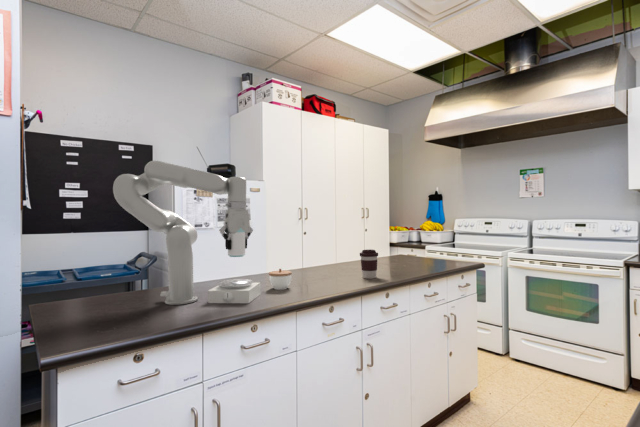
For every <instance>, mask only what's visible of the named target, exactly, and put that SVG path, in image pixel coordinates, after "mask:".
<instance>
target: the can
mask: <svg viewBox="0 0 640 427" xmlns="http://www.w3.org/2000/svg"><path fill="white" fill-rule="evenodd" d="M239 229H240V230H238V231H237V232H236V233H235V234H233V233H232V236H231V238H230V240H231V241H232V243H231V250H228V249H227V255H228V256H229V257H230V258H240V257H241V258H242V257H244V256H245V255H246V248H245V231H244V230H242V228H239Z"/></svg>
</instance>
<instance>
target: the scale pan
mask: <svg viewBox="0 0 640 427" xmlns="http://www.w3.org/2000/svg"><path fill="white" fill-rule="evenodd" d="M252 283H253V280H252V279H250V278H249V279H247V278H234V279H233V278H231V279H225V280H221V281H219V282H218V283H217V286H219V287H225V288H234V287H244V286H248V285H251V284H252Z"/></svg>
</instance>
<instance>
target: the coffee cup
mask: <svg viewBox="0 0 640 427" xmlns="http://www.w3.org/2000/svg"><path fill="white" fill-rule="evenodd" d="M359 256H360V266H361V273H362V278H364V279H373V280H374V279H376V278H377V270H378V257H379V253H378V252H376V250H375V249H363V250H362V251H361V252H359Z"/></svg>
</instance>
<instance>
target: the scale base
mask: <svg viewBox="0 0 640 427" xmlns="http://www.w3.org/2000/svg"><path fill="white" fill-rule="evenodd" d="M261 286H262V285H261V282H252V284H251V285H248V286H244V287H234V288H225V287H219V286H218V285H216V286H214V287H212V288H210V289H208V290H207V304H250V303H251V302H253V301H254V300H255V299H256V298H257V297H259V296H260V295H261V294H262V293H261V292H262V288H261Z"/></svg>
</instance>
